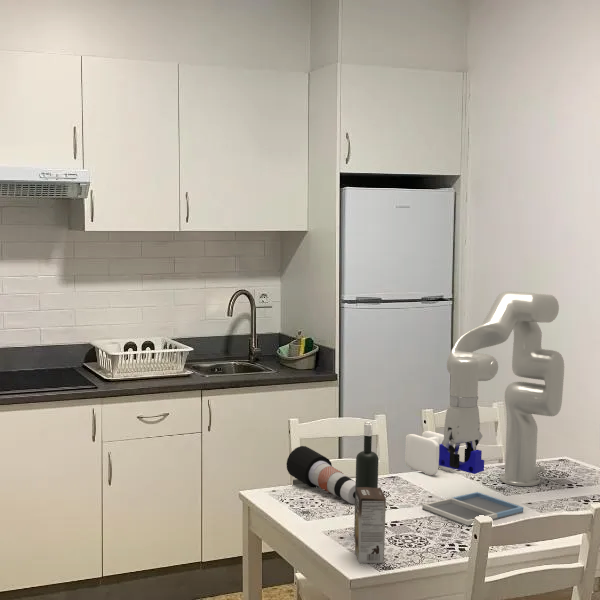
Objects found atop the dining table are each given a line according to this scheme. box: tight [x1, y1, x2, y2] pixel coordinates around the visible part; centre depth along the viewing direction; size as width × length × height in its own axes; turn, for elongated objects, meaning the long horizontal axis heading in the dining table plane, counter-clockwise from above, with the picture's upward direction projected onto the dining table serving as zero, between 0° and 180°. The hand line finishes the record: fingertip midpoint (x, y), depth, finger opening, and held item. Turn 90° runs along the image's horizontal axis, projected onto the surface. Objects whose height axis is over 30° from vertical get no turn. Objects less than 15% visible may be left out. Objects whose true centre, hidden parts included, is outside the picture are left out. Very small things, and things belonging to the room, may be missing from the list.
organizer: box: [404, 430, 455, 476], centre depth 313 cm, size 15×11×12 cm
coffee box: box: [354, 487, 387, 564], centre depth 233 cm, size 9×6×16 cm
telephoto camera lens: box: [286, 445, 356, 505], centre depth 285 cm, size 10×34×10 cm, turn 35°
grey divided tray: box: [421, 491, 524, 527], centre depth 271 cm, size 22×18×2 cm
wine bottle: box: [353, 421, 379, 537], centre depth 248 cm, size 6×6×30 cm
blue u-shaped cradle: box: [439, 444, 485, 475], centre depth 267 cm, size 12×4×6 cm, turn 46°
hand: (461, 464), depth 267 cm, fingers closed on blue u-shaped cradle, 5 cm apart
